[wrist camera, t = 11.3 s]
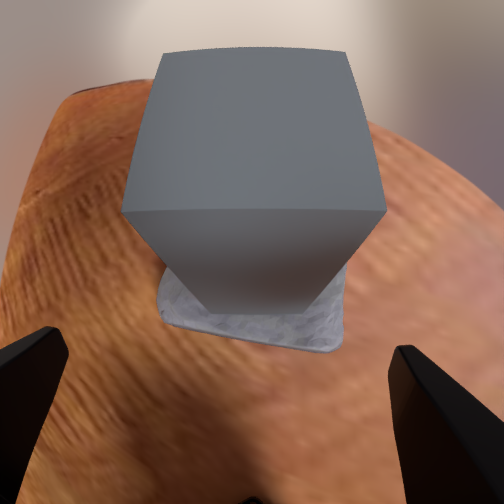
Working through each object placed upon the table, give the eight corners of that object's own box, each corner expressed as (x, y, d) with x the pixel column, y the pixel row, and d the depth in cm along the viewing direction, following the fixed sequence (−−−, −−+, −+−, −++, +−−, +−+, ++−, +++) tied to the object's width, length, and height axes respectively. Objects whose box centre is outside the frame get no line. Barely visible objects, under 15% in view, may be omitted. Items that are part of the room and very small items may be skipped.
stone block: (197, 221, 26) (162, 337, 21) (187, 181, 22) (139, 312, 17) (343, 241, 25) (334, 366, 20) (357, 202, 21) (354, 347, 16)
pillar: (302, 314, 17) (387, 211, 6) (211, 314, 18) (120, 211, 6) (299, 230, 19) (345, 52, 7) (214, 230, 19) (163, 53, 7)
